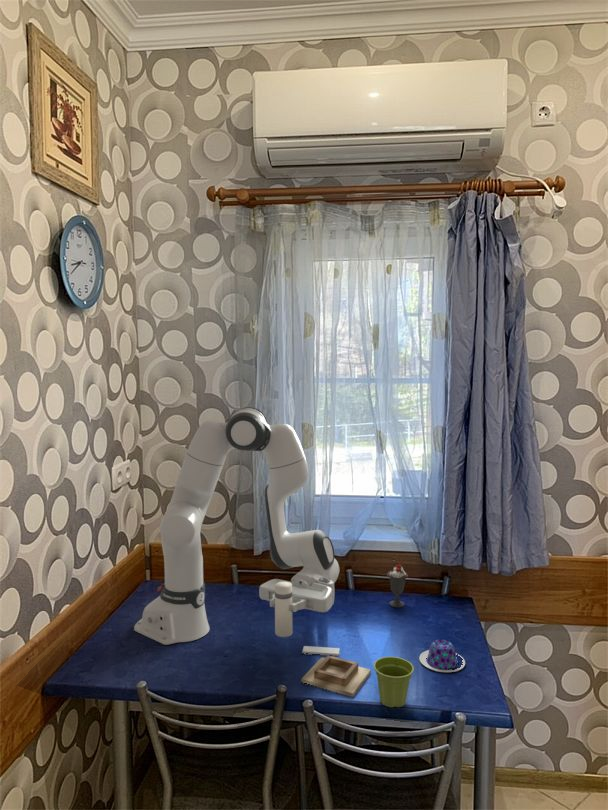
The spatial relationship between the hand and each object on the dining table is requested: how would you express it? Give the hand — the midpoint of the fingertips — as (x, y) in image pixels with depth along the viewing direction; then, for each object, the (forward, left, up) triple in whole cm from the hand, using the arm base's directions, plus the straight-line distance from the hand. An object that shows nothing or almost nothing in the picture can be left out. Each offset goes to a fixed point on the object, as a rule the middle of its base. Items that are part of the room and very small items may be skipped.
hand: (282, 606), depth 160 cm
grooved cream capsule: (0, +1, -7) cm, 8 cm away
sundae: (+14, +52, -17) cm, 56 cm away
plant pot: (+30, 0, -17) cm, 35 cm away
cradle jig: (+14, +3, -17) cm, 22 cm away
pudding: (+36, +23, -18) cm, 46 cm away
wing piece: (+5, +13, -18) cm, 22 cm away
